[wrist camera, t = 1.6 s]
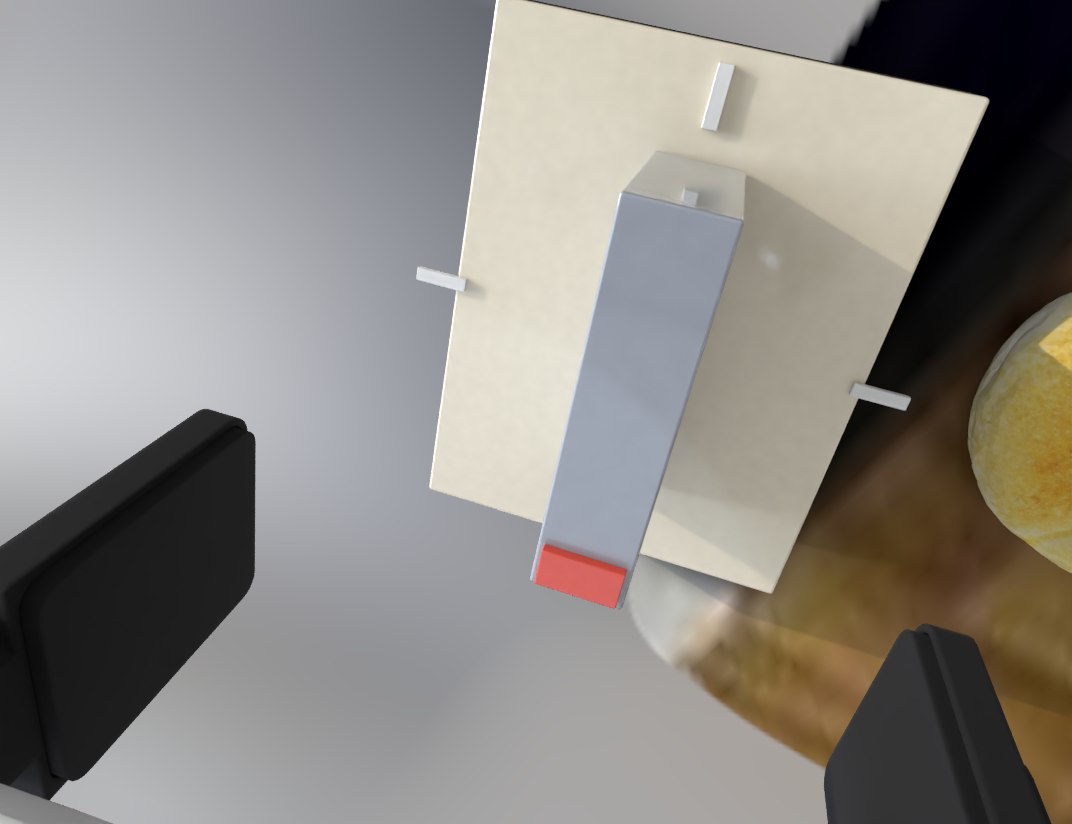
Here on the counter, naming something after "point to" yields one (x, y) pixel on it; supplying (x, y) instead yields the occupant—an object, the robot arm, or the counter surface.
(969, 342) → the counter surface
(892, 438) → the counter surface
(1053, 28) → the counter surface
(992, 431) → the bread roll
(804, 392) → the cream flat tabbed slab
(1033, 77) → the counter surface
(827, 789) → the robot arm
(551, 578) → the grey rectangular block
